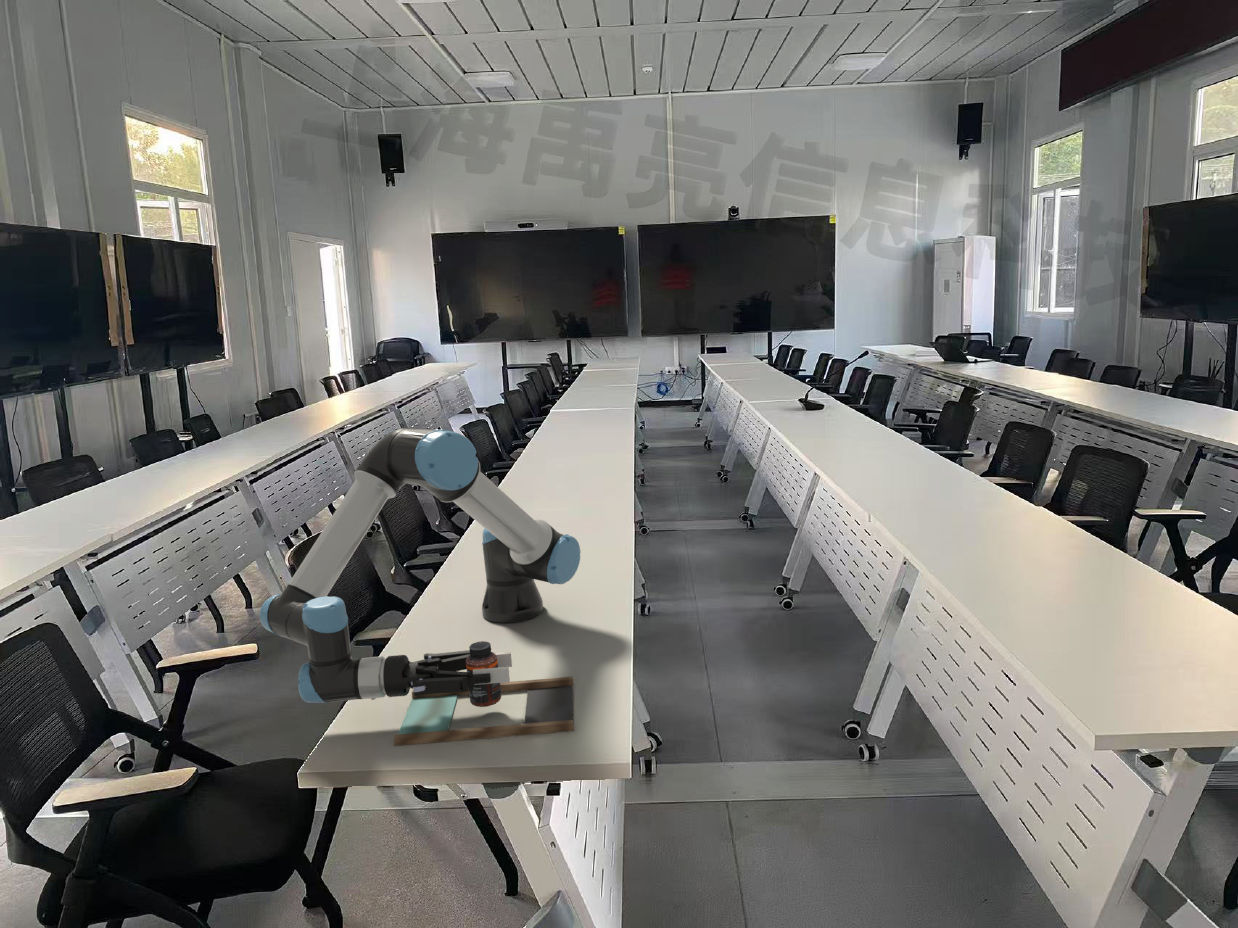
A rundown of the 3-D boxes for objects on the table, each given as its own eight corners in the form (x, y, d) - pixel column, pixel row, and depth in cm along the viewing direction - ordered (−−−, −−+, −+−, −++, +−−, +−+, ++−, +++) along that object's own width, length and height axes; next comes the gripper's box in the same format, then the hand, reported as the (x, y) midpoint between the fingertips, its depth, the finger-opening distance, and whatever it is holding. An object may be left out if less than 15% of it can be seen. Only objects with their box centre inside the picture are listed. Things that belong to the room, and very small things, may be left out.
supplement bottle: (503, 692, 166) (497, 637, 164) (500, 707, 161) (494, 650, 158) (472, 694, 166) (466, 639, 164) (467, 709, 160) (462, 652, 158)
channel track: (394, 745, 154) (393, 737, 154) (413, 696, 173) (412, 689, 172) (573, 730, 155) (572, 722, 155) (573, 683, 174) (572, 676, 174)
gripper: (398, 673, 171) (514, 664, 172) (377, 719, 153) (508, 708, 154) (394, 638, 170) (511, 628, 171) (372, 680, 151) (504, 669, 152)
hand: (509, 666), depth 162 cm, fingers closed on supplement bottle, 6 cm apart
